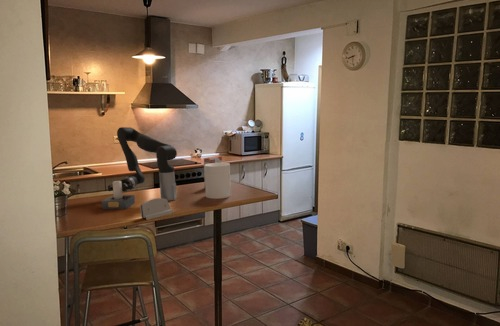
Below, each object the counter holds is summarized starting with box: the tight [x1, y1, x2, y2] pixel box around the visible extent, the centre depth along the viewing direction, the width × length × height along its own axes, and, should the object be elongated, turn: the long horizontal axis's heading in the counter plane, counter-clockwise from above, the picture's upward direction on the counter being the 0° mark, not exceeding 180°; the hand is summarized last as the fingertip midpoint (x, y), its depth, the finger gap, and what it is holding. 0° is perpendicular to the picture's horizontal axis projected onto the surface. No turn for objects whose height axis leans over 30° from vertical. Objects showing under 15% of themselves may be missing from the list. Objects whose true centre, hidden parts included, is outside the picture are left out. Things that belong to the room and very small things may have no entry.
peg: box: [112, 180, 124, 199], centre depth 235 cm, size 5×5×14 cm
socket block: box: [100, 194, 136, 210], centre depth 236 cm, size 14×14×5 cm
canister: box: [203, 162, 232, 200], centre depth 254 cm, size 16×16×20 cm
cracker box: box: [203, 155, 223, 182], centre depth 285 cm, size 14×6×21 cm, turn 147°
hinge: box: [139, 197, 174, 221], centre depth 213 cm, size 17×5×10 cm, turn 136°
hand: (116, 189), depth 233 cm, fingers open, 8 cm apart
